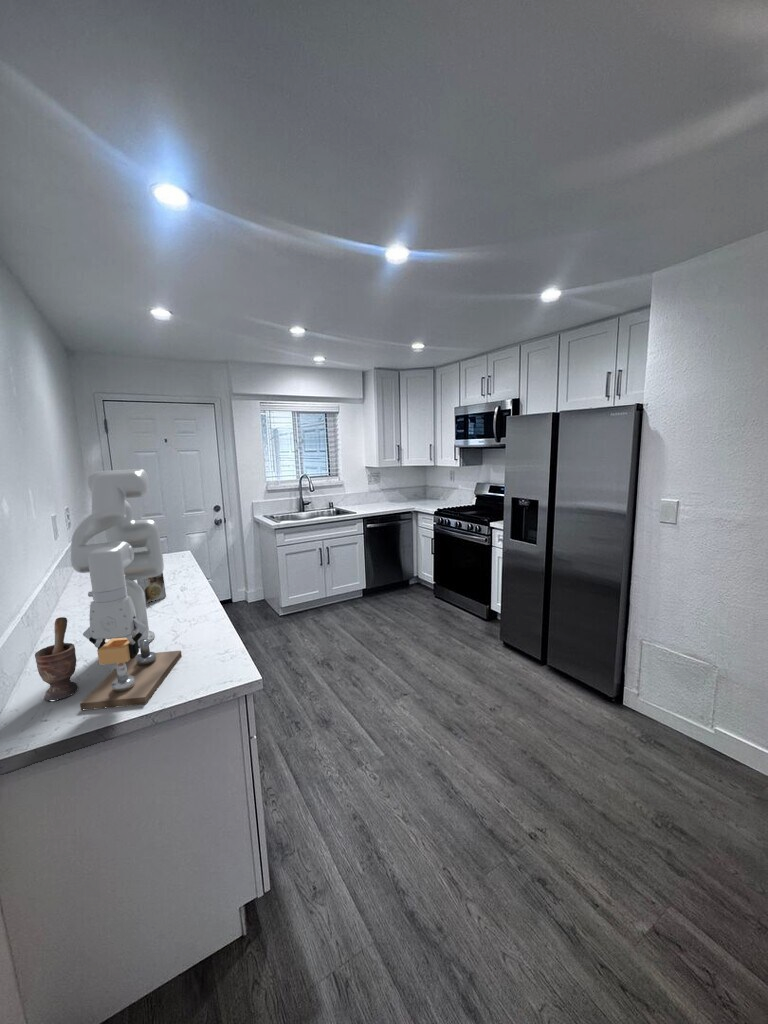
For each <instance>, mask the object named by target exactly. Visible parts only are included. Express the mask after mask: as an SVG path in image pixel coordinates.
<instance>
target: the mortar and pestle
mask: <svg viewBox="0 0 768 1024" xmlns="http://www.w3.org/2000/svg"><path fill="white" fill-rule="evenodd" d="M67 627H68V618H67V617H63V616H62V617H56V619H55V621H54V644H53V645H49V646H46V647H44V648H41V649H40V650H38V651H35V654H34V658H35V663H36V669H37V671H38V674H39V677H40V678H41V679H42V681H43V682H45V683H46V684H48V685H49V688H48V689H46V691H45V693H44V699H45V698H46V699H47V700H46V699H45V700H46V701H48V700H57V699H60V700H62V699H61V698H63V699H65V698H68V697H71V696H72V695H73V693H74V694H75V693H77V691H78V690H77V689H79V686H78V684H77V683H76V682H74V681H72V680H71V678H72V676H74V673H75V672H76V666H77V655H76V648H75V644H73V643H70V642H69V643H68V642H65V637H66V636H65V635H66V631H67ZM71 694H72V695H71ZM57 701H58V700H57Z"/></svg>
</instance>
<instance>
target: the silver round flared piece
mask: <svg viewBox="0 0 768 1024" xmlns="http://www.w3.org/2000/svg"><path fill="white" fill-rule="evenodd" d="M115 668H116V672H117V679H116V680H114V681H113V682H112V688H113V692H115V693H121V692H125V691H128V690H130V689H132V688H133V687H134V686H135V680H134V676H128V674H127V667H126V664H125V663H116V666H115Z"/></svg>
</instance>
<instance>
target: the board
mask: <svg viewBox="0 0 768 1024" xmlns="http://www.w3.org/2000/svg"><path fill="white" fill-rule="evenodd" d="M140 654H141V653H138V654H137V655H136V656H135V657H134V658H133V659H130V660H129V661H128V662H124V663H125V664H126V667H127V674H128V676H134V680H135V686H134V687H133V688H132V689H130V690H128V691H125V692H121V693H115V692H113V688H112V682H113V681H114V680H116V679H117V672H116V667H115V668H114V669H113V670H112V671H111V672H110V673H109V674H108V675H107V676H106V677H105V678H104V679H103V680H102V681H101V682H99V684H98V685H97V686H95V688H94V689H93V690H92V691H91V692H90V693H89V694H88V695H87V696H86V697H85V698H84V699H83V700H82V701H81V702H80V703H79V707H80V711H81V710H82V711H84V710H83V709H92V710H95V709H94V708H102V709H106V708H105V707H112V708H118V707H117V706H122V707H128V706H129V707H130V705H132V706H140V704H141V705H147V704H148V703H149V701H150V700H151V698H152V697H153V696H154V695H155V693H156V692H157V690H158V689H159V688H160V687H161V686H162V684H163V682H164V681H165V679H167V677H168V676H169V674H170V673H171V671H172V670H173V669H174V667H175V666H176V665H177V664H178V662H179V661H180V660H181V658H182V657H183V656H182V650H172V651H170V650H169V651H160V652H155V654H156V661H155V662H154V663H152V664H150V665H147V666H137V662H136V657H137V656H138V655H140ZM157 688H158V689H157ZM155 691H156V692H155ZM154 692H155V693H154ZM152 695H153V696H152ZM151 696H152V697H151ZM149 699H150V700H149ZM127 705H128V706H127Z"/></svg>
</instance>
